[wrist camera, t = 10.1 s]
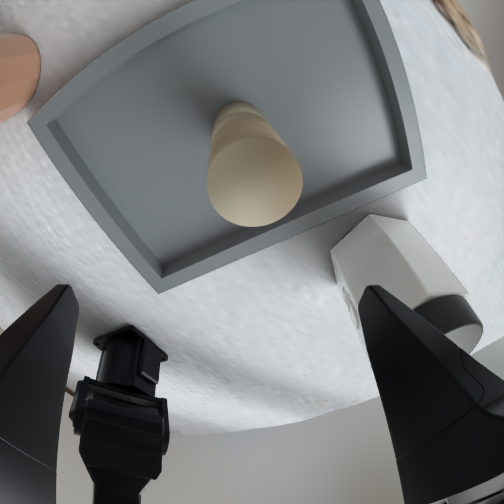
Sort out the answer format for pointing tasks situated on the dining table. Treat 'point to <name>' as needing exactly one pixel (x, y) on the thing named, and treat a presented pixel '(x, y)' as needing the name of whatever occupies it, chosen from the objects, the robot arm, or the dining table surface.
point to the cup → (17, 72)
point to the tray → (202, 118)
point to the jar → (403, 277)
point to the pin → (250, 168)
